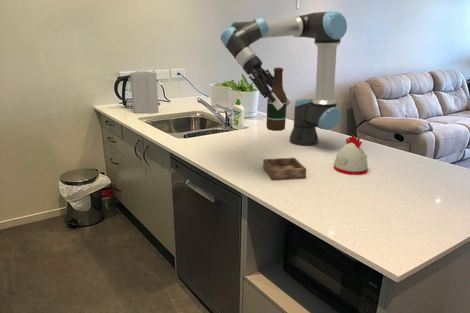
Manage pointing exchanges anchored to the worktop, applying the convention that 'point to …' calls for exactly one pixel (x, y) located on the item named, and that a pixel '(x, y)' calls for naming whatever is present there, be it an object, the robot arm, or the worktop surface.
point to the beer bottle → (273, 115)
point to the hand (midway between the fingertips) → (284, 106)
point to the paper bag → (144, 92)
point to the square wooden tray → (284, 168)
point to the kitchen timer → (351, 158)
